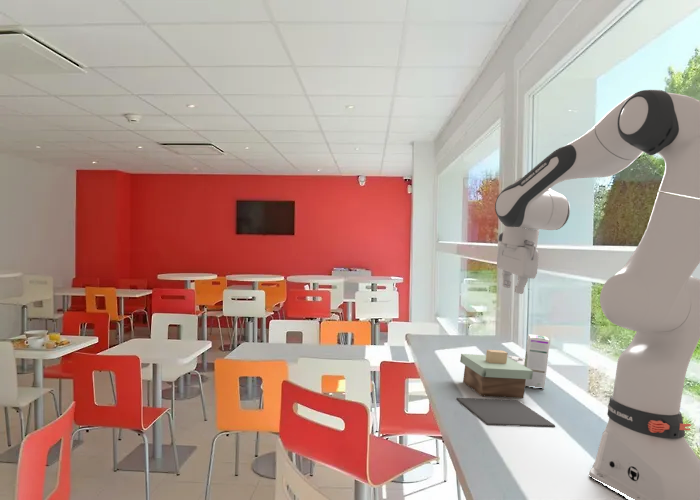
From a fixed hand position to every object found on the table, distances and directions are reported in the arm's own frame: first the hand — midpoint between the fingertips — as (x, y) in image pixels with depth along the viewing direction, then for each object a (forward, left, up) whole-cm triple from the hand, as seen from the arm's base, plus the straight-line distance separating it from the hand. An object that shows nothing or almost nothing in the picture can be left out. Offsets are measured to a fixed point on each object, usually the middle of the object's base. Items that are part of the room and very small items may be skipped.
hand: (512, 290), depth 149 cm
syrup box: (+9, -15, -28) cm, 33 cm away
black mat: (-15, +7, -28) cm, 33 cm away
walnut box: (+3, +1, -28) cm, 28 cm away
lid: (+22, -16, -29) cm, 39 cm away
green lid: (+3, +1, -23) cm, 23 cm away
